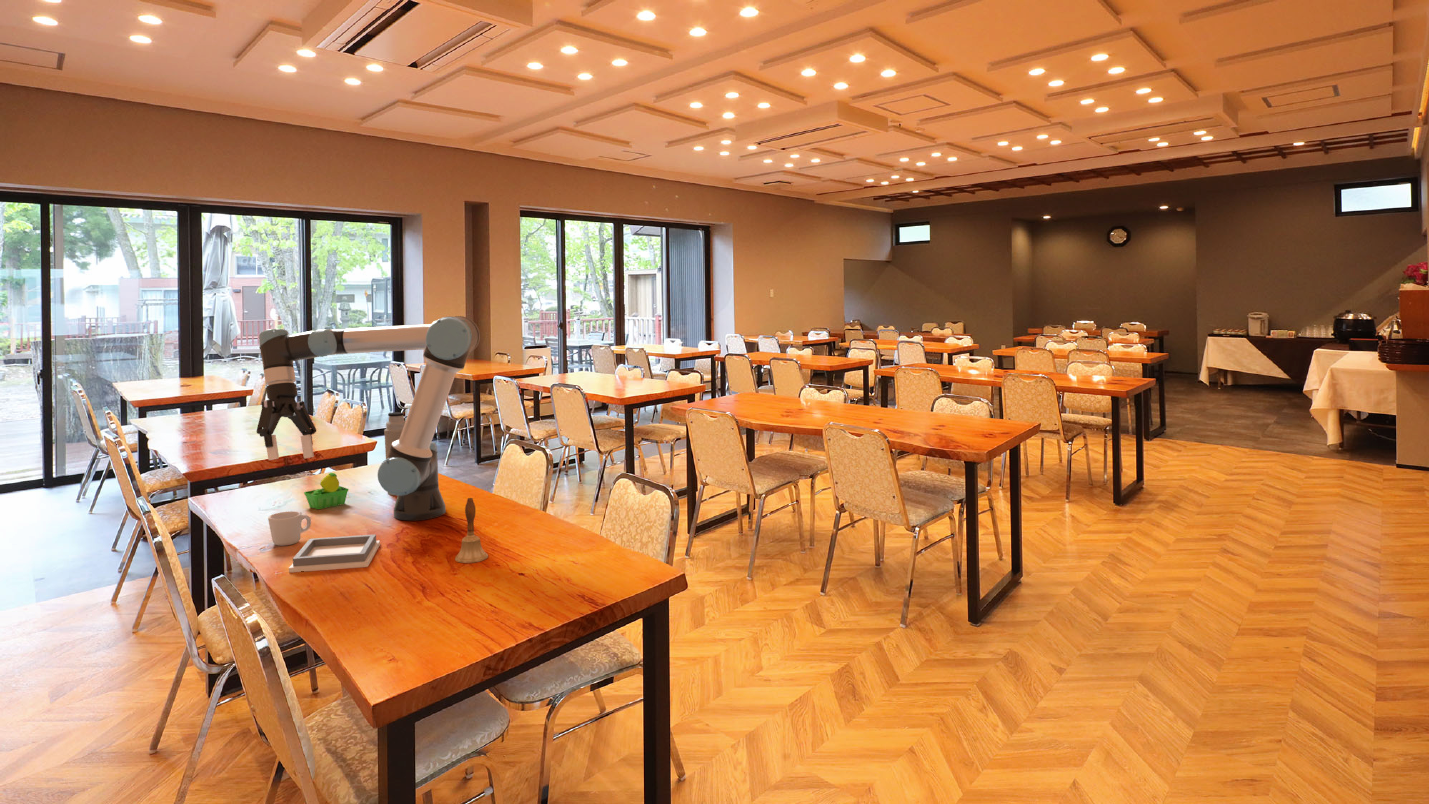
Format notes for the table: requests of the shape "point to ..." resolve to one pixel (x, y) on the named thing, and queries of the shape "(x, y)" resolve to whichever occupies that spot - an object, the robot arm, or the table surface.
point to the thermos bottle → (393, 430)
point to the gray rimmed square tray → (335, 553)
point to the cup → (287, 527)
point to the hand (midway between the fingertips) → (291, 458)
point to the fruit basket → (327, 493)
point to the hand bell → (471, 539)
